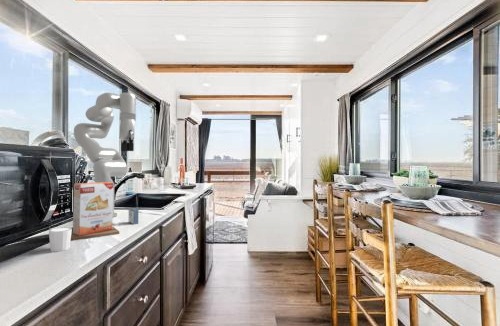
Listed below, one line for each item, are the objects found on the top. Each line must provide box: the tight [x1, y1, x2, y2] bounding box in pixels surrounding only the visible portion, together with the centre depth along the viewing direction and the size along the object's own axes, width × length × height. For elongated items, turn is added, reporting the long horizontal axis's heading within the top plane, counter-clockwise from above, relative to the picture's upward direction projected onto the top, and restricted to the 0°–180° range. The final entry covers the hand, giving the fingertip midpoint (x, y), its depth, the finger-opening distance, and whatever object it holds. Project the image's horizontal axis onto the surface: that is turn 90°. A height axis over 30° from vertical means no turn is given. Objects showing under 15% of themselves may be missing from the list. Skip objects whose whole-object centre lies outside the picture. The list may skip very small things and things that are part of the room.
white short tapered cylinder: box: [48, 227, 73, 253], centre depth 99 cm, size 7×7×7 cm
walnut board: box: [70, 226, 120, 242], centre depth 119 cm, size 11×18×1 cm, turn 129°
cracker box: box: [72, 182, 113, 236], centre depth 119 cm, size 14×6×21 cm, turn 146°
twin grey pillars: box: [128, 207, 139, 225], centre depth 134 cm, size 6×25×7 cm, turn 129°
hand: (127, 151), depth 143 cm, fingers open, 9 cm apart
